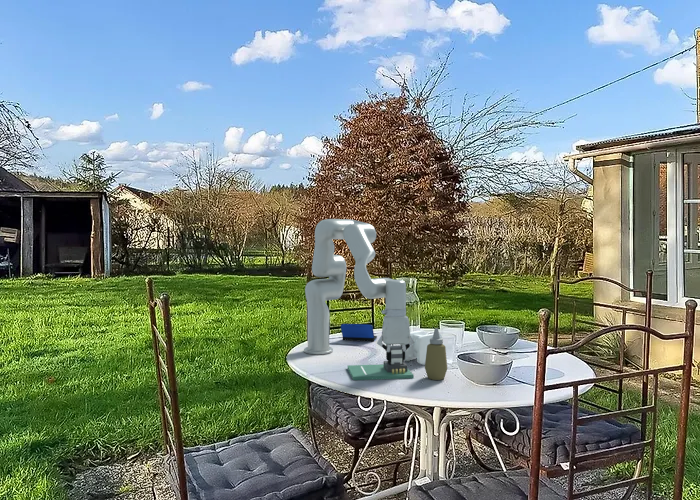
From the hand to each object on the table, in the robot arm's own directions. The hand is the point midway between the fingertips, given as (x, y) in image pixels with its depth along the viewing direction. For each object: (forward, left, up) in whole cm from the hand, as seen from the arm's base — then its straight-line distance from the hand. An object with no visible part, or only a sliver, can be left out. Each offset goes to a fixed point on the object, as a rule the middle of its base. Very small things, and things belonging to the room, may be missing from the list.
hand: (395, 361), depth 201 cm
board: (0, -6, -4) cm, 7 cm away
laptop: (-60, -5, -5) cm, 61 cm away
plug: (0, 0, -1) cm, 1 cm away
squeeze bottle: (+9, +13, -5) cm, 16 cm away
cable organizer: (-16, +14, -5) cm, 22 cm away
